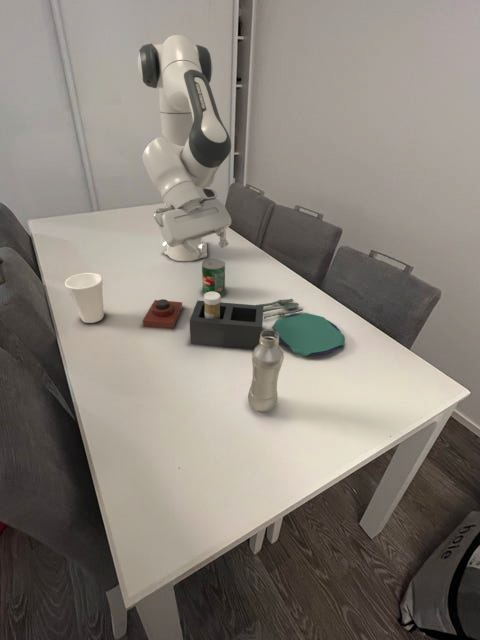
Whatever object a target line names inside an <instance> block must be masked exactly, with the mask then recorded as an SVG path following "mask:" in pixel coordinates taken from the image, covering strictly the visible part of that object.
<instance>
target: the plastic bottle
mask: <svg viewBox="0 0 480 640" xmlns="http://www.w3.org/2000/svg"><path fill="white" fill-rule="evenodd" d="M259 342H260V343H259V344H258V345H257V346H256V347H255V348H254V350H252V353H251V362H252V363H251V364H252V379H251V384H250V387H249V390H248V393H247V400H248V404H249V406H250V407H251V408H252V409H253V410H255V411H257V412H259V413H260V412H261V413H265V412H269V411H270V410H272V409H274V408H275V406H276V404H277V402H278V398H279V397H278V381H279V375H280V371H281V368H282V365H283V362H284V358H285V355H284V351H283V349H282V348H281V347H280V341H279V334H278V333H277V332H276V331H275V329H265V330H264V329H263V330H262V332H261V334H260V340H259Z"/></svg>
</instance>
